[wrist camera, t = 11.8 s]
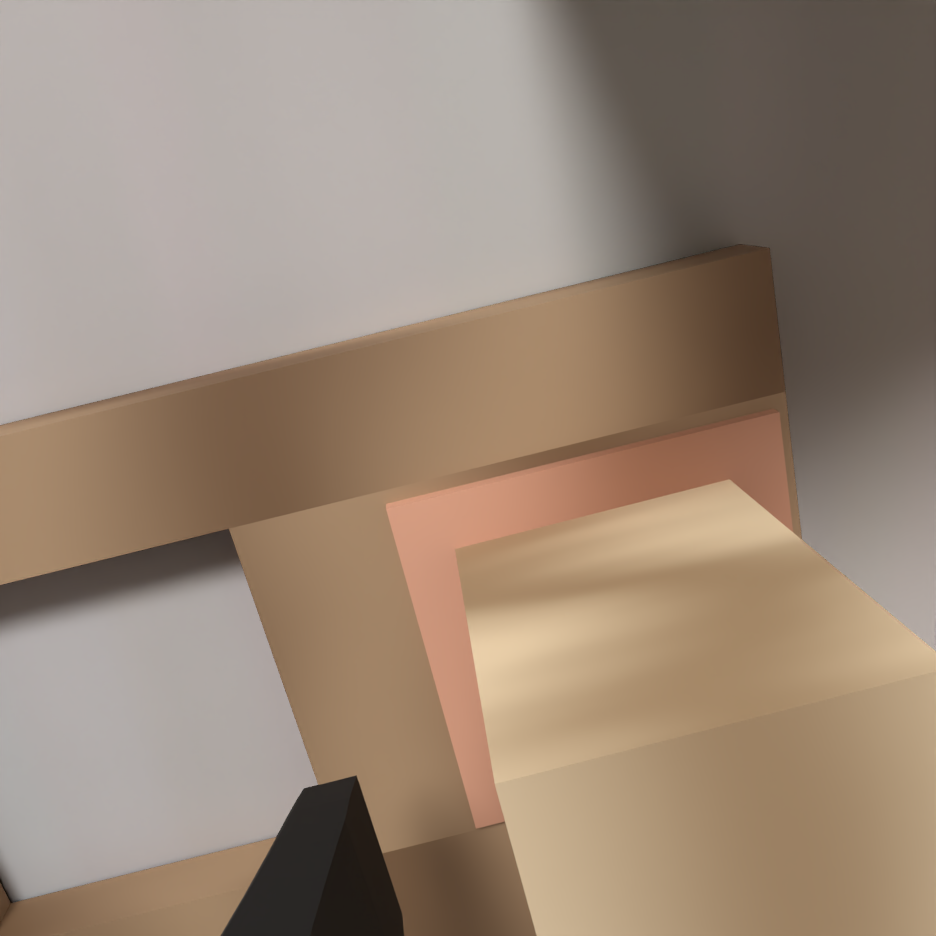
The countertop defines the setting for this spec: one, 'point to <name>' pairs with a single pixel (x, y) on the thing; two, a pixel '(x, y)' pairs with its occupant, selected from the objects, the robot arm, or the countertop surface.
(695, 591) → the maple block
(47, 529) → the puzzle board
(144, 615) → the countertop surface
